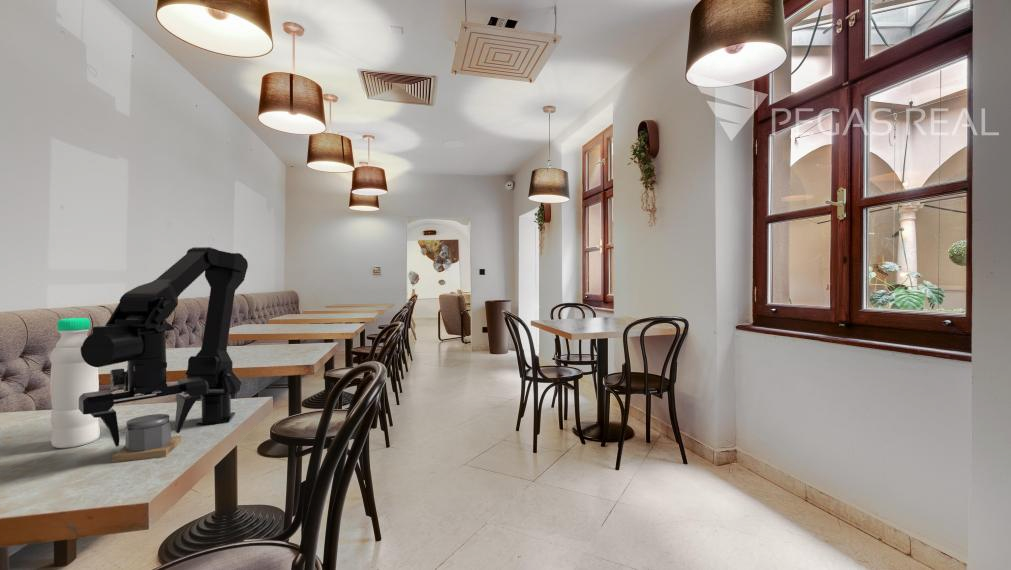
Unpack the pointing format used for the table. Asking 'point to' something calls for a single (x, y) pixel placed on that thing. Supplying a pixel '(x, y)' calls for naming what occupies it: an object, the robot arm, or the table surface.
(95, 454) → the table surface
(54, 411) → the water bottle
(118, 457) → the stud block
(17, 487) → the table surface
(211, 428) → the table surface
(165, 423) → the cap
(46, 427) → the table surface
